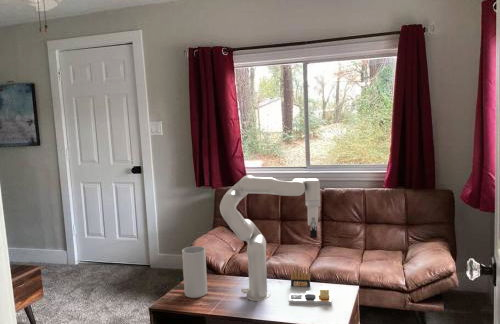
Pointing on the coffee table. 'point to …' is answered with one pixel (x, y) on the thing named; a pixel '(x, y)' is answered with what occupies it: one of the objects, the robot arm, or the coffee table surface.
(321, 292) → the gold brushed block
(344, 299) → the coffee table surface
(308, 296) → the grey brushed cube
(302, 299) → the rail
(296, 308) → the coffee table surface
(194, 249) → the cylinder vase
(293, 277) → the ammunition clip
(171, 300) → the coffee table surface
